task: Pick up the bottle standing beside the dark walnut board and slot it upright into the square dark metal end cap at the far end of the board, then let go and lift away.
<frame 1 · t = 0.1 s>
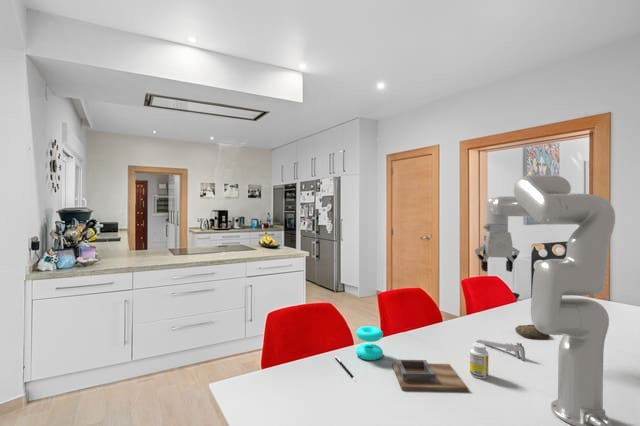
hand: (496, 271, 135), 31 cm above the table, tool pointing down, fingers open, 9 cm apart
bread roll: (532, 335, 151), on the table
supplement bottle: (479, 376, 113), on the table
caliper: (498, 351, 133), on the table
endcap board: (427, 377, 111), on the table
donuts: (369, 356, 128), on the table
pen: (344, 369, 117), on the table
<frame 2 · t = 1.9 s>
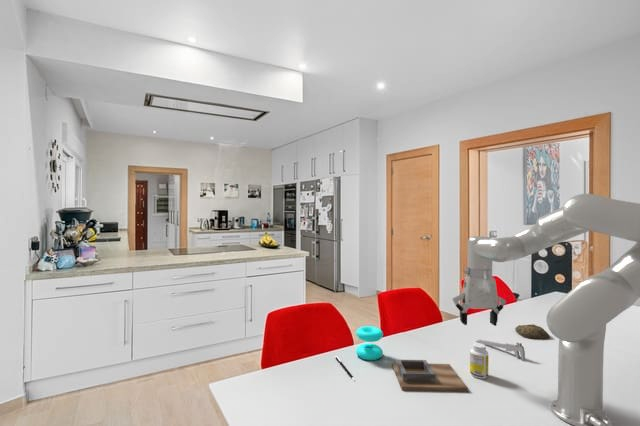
hand: (478, 324, 113), 17 cm above the table, tool pointing down, fingers open, 9 cm apart
nothing on the table moved.
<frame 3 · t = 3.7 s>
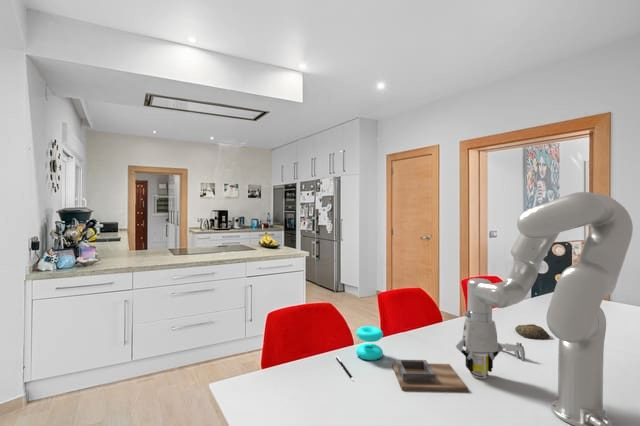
hand: (479, 369, 113), 2 cm above the table, tool pointing down, fingers closed on supplement bottle, 5 cm apart
supplement bottle: (478, 375, 113), on the table, touching gripper
everything else where it was.
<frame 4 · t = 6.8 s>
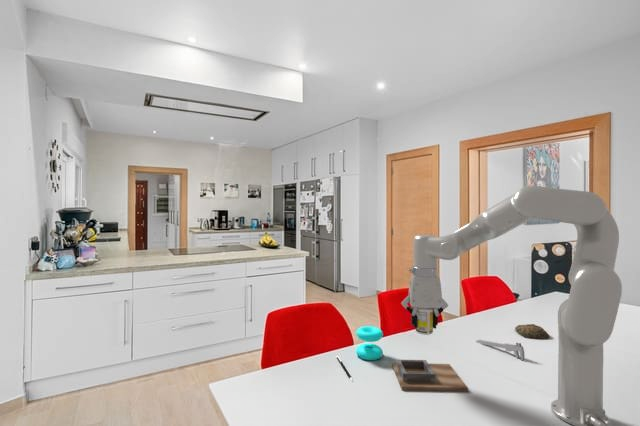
hand: (424, 326, 111), 17 cm above the table, tool pointing down, fingers closed on supplement bottle, 5 cm apart
supplement bottle: (424, 333, 111), point 15 cm above the table, touching gripper
everything else where it was.
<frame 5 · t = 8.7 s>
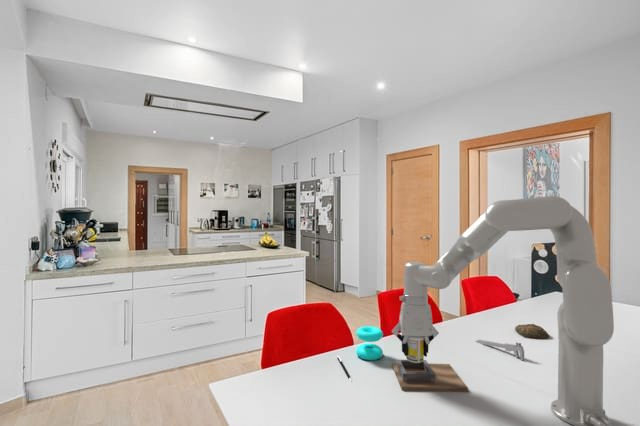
hand: (414, 354, 111), 8 cm above the table, tool pointing down, fingers closed on supplement bottle, 5 cm apart
supplement bottle: (414, 360, 111), point 6 cm above the table, touching gripper
everything else where it was.
when the fingers open (5 cm above the table, at t = 10.2 s): supplement bottle drops 1 cm, resting on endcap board.
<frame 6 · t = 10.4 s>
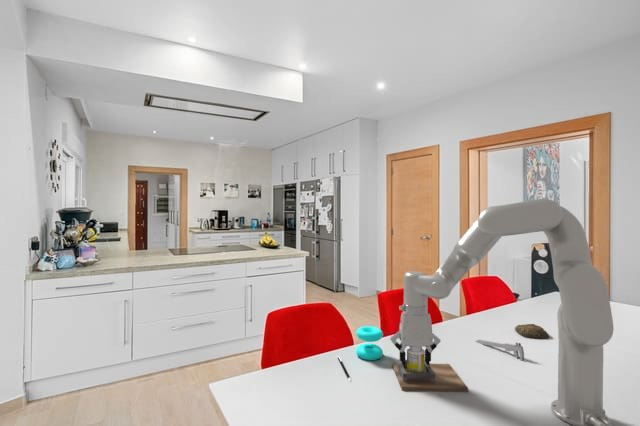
hand: (415, 362, 111), 5 cm above the table, tool pointing down, fingers open, 7 cm apart
supplement bottle: (415, 374, 111), point 1 cm above the table, touching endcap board
everything else where it was.
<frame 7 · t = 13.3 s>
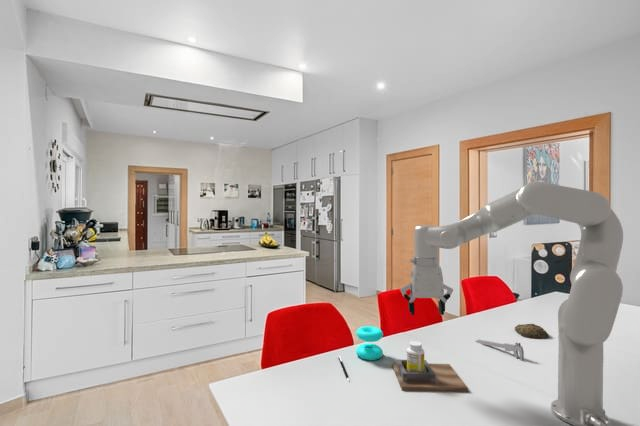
hand: (426, 313, 112), 21 cm above the table, tool pointing down, fingers open, 9 cm apart
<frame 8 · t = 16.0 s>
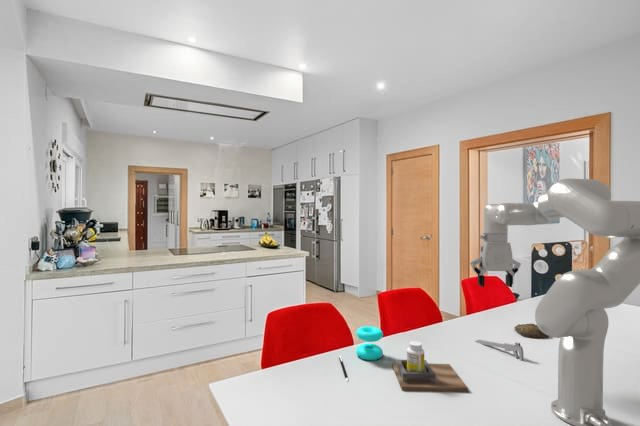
hand: (495, 286, 120), 28 cm above the table, tool pointing down, fingers open, 9 cm apart
at the end: supplement bottle 0.1 cm from the target spot on the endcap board, point 1.0 cm above the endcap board's base; supplement bottle tilted 0°; the gripper is holding nothing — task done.
